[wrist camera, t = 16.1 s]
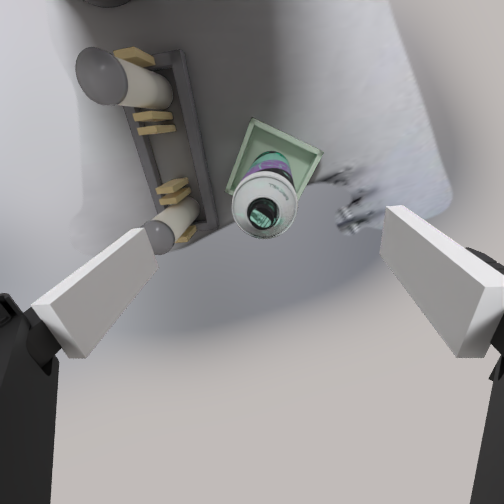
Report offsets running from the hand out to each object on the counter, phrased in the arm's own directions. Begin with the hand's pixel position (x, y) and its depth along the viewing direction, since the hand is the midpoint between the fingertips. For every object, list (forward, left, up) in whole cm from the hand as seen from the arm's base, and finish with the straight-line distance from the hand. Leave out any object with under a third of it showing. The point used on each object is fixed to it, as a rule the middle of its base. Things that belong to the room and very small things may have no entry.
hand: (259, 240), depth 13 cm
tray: (0, 0, -25) cm, 25 cm away
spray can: (0, 0, -24) cm, 24 cm away
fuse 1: (-3, -18, -25) cm, 31 cm away
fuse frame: (+4, -14, -25) cm, 29 cm away
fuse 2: (+11, -10, -25) cm, 29 cm away
